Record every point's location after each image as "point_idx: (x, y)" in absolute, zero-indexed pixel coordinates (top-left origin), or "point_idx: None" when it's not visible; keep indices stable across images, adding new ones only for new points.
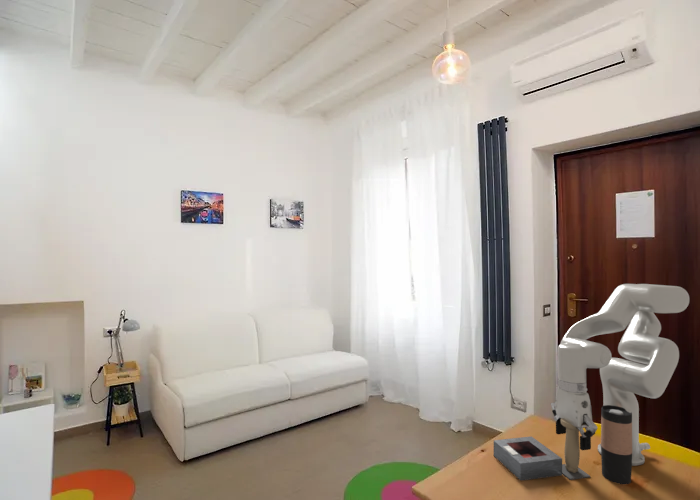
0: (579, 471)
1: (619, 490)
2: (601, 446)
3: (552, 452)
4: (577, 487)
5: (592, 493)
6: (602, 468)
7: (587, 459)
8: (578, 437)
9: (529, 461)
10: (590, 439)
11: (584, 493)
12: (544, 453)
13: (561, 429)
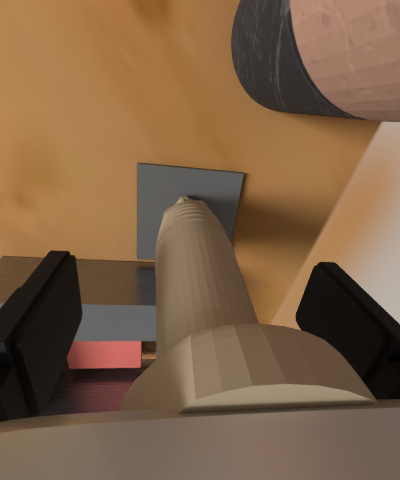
0: (202, 190)
1: (348, 136)
2: (319, 91)
3: (143, 311)
4: (265, 267)
5: (307, 247)
6: (266, 102)
7: (106, 21)
8: (251, 305)
9: None
10: (382, 311)
11: (295, 270)
12: (138, 338)
13: (65, 317)
